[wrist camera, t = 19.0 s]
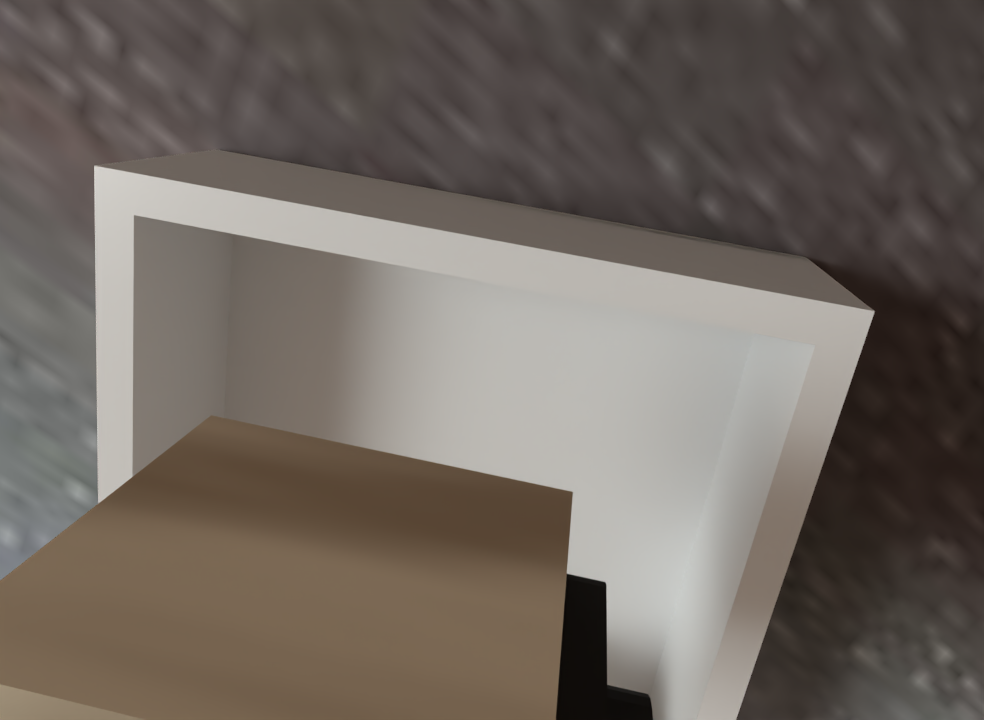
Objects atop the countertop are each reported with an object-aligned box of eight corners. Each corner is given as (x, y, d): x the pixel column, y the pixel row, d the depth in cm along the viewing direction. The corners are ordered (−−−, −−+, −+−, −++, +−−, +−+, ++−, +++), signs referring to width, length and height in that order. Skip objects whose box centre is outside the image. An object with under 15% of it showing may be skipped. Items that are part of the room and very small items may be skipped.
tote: (216, 149, 20) (94, 165, 15) (805, 257, 18) (874, 311, 14) (192, 747, 26) (102, 890, 21) (626, 853, 25) (631, 1027, 20)
